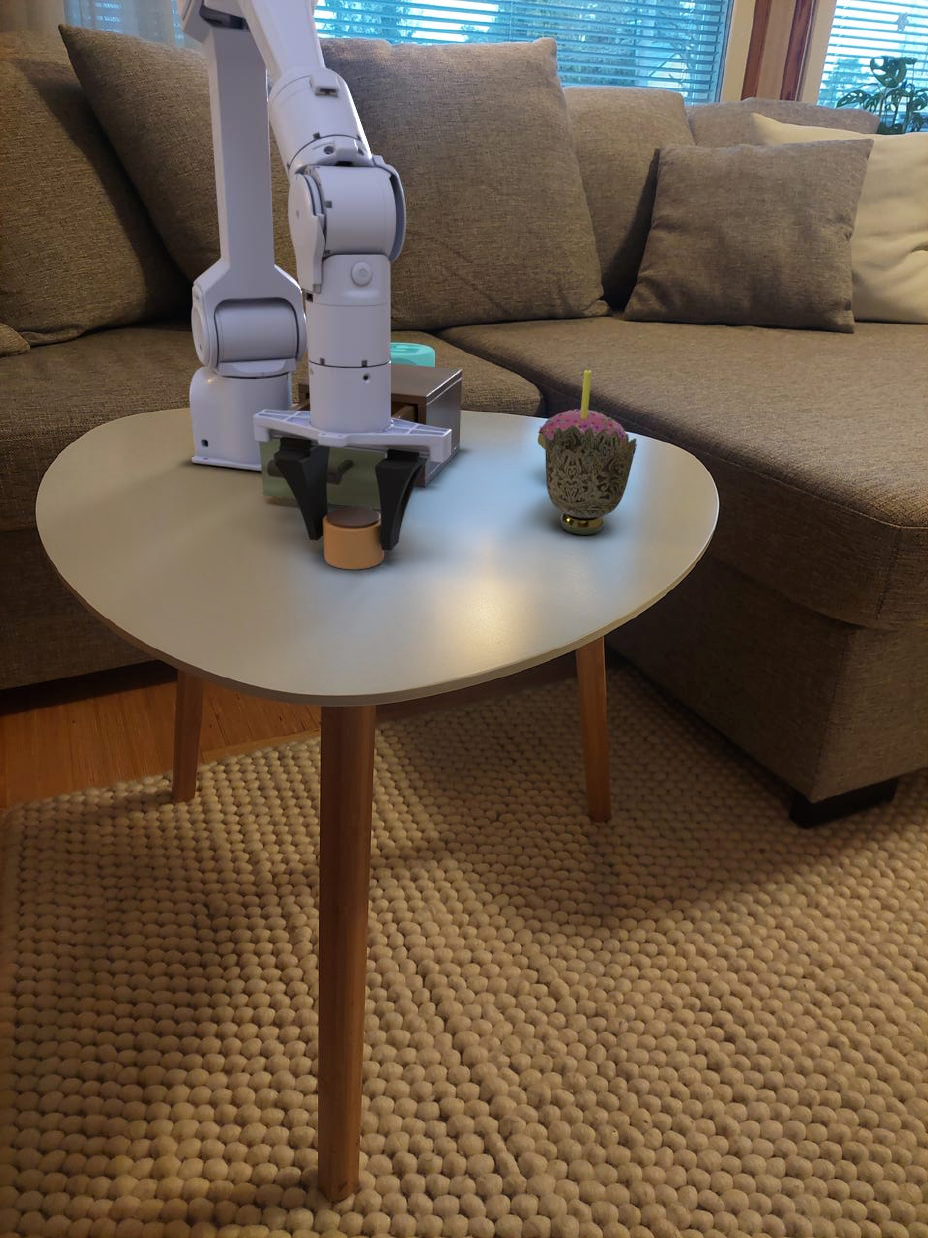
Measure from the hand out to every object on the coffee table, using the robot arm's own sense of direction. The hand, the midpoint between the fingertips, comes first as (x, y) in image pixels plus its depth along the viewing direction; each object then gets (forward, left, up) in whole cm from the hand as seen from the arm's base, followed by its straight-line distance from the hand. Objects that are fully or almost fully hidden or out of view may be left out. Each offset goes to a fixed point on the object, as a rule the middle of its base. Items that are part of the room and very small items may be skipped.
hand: (354, 540), depth 67 cm
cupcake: (+14, +24, -2) cm, 28 cm away
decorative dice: (-10, +41, -2) cm, 42 cm away
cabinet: (-6, +24, -1) cm, 25 cm away
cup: (+16, +12, -2) cm, 20 cm away
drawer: (-6, +12, -1) cm, 13 cm away
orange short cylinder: (0, 0, -1) cm, 1 cm away
